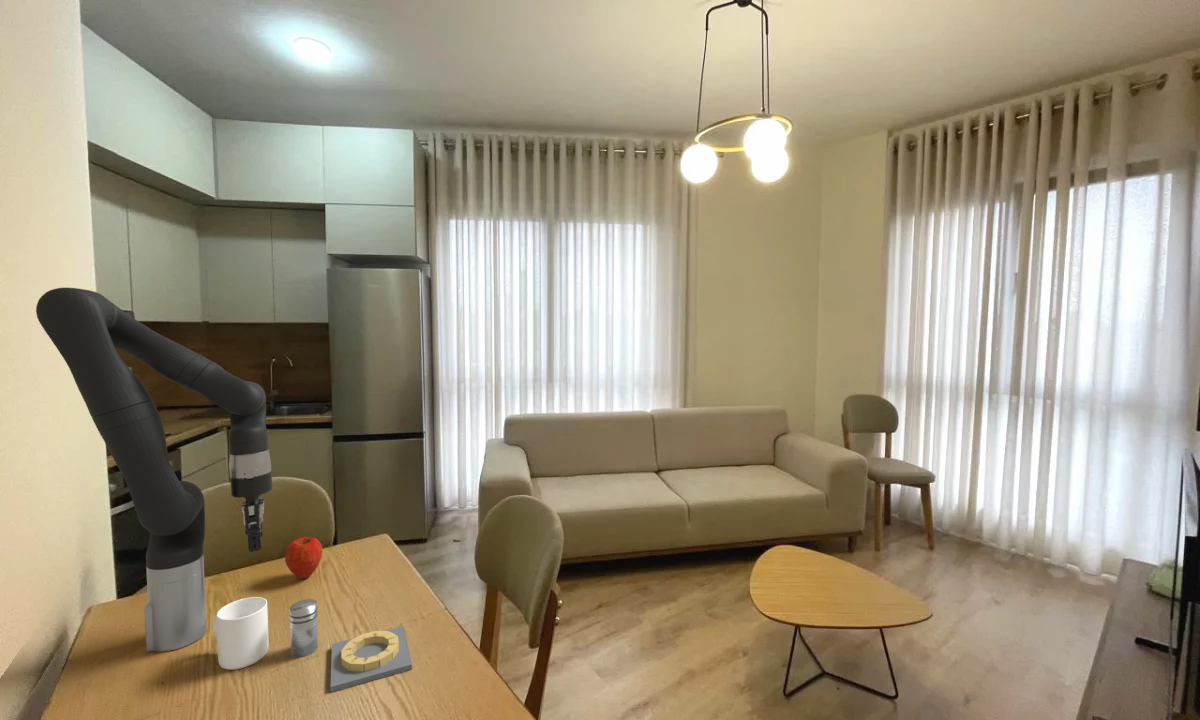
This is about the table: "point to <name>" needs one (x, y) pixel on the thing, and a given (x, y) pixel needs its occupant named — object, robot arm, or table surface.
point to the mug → (241, 632)
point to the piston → (303, 628)
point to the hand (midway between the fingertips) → (256, 543)
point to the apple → (303, 556)
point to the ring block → (369, 658)
